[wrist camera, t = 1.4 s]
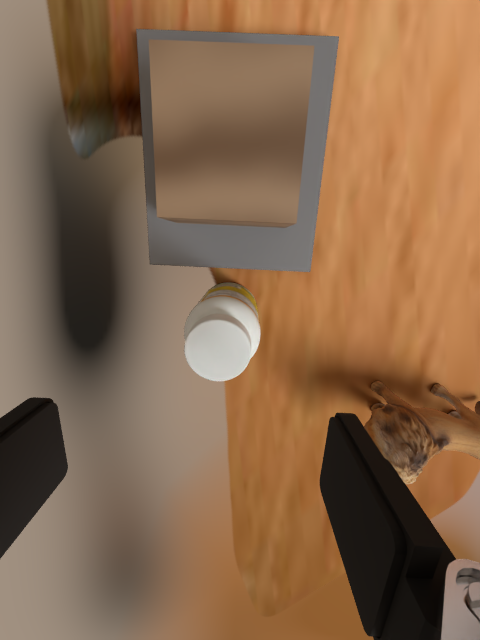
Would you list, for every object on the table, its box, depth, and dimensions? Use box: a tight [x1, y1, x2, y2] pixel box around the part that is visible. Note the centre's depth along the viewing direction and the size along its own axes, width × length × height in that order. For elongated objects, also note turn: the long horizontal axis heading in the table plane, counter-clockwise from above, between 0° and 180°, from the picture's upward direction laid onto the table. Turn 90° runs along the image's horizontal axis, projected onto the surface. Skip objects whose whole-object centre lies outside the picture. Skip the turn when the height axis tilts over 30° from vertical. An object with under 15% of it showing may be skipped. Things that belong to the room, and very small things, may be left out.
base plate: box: [136, 29, 339, 272], centre depth 20 cm, size 16×14×1 cm
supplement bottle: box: [184, 283, 260, 381], centre depth 20 cm, size 5×5×10 cm
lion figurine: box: [364, 381, 480, 484], centre depth 22 cm, size 15×5×9 cm, turn 93°
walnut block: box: [149, 40, 314, 228], centre depth 17 cm, size 9×9×5 cm
